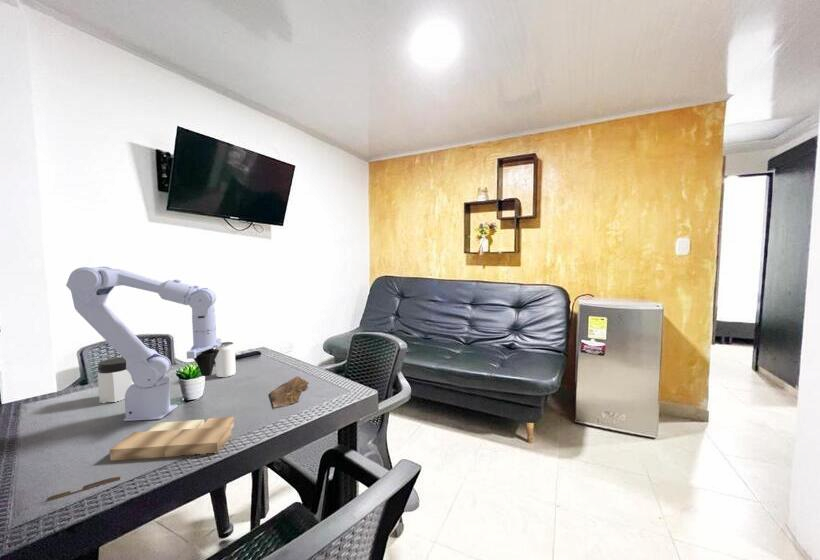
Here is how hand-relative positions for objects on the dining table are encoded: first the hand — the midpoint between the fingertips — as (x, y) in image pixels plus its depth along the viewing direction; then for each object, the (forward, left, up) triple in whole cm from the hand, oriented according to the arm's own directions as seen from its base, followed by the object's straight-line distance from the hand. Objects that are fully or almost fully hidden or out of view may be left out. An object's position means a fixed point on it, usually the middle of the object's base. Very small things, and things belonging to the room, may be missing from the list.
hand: (206, 375), depth 95 cm
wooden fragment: (+21, +9, -10) cm, 25 cm away
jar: (-32, +10, -10) cm, 35 cm away
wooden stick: (-6, -34, -10) cm, 36 cm away
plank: (0, -15, -10) cm, 18 cm away
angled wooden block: (+3, -19, -9) cm, 22 cm away
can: (-7, +27, -10) cm, 29 cm away
